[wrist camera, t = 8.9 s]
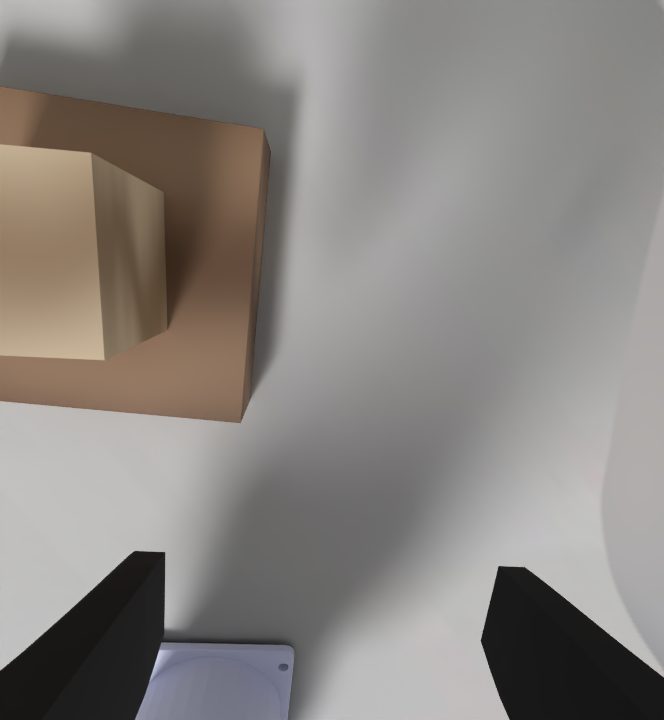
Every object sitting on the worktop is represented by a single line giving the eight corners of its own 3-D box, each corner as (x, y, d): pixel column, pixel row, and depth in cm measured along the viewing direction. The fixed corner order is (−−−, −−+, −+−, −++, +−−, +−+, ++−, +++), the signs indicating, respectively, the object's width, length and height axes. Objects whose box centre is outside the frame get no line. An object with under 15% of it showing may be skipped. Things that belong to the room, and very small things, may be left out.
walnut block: (251, 396, 18) (240, 423, 15) (13, 373, 17) (-49, 396, 14) (271, 154, 15) (263, 129, 12) (-3, 112, 14) (-81, 73, 11)
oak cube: (167, 330, 14) (104, 360, 9) (29, 323, 13) (-105, 350, 9) (163, 192, 13) (91, 152, 8) (14, 179, 12) (-145, 131, 8)
